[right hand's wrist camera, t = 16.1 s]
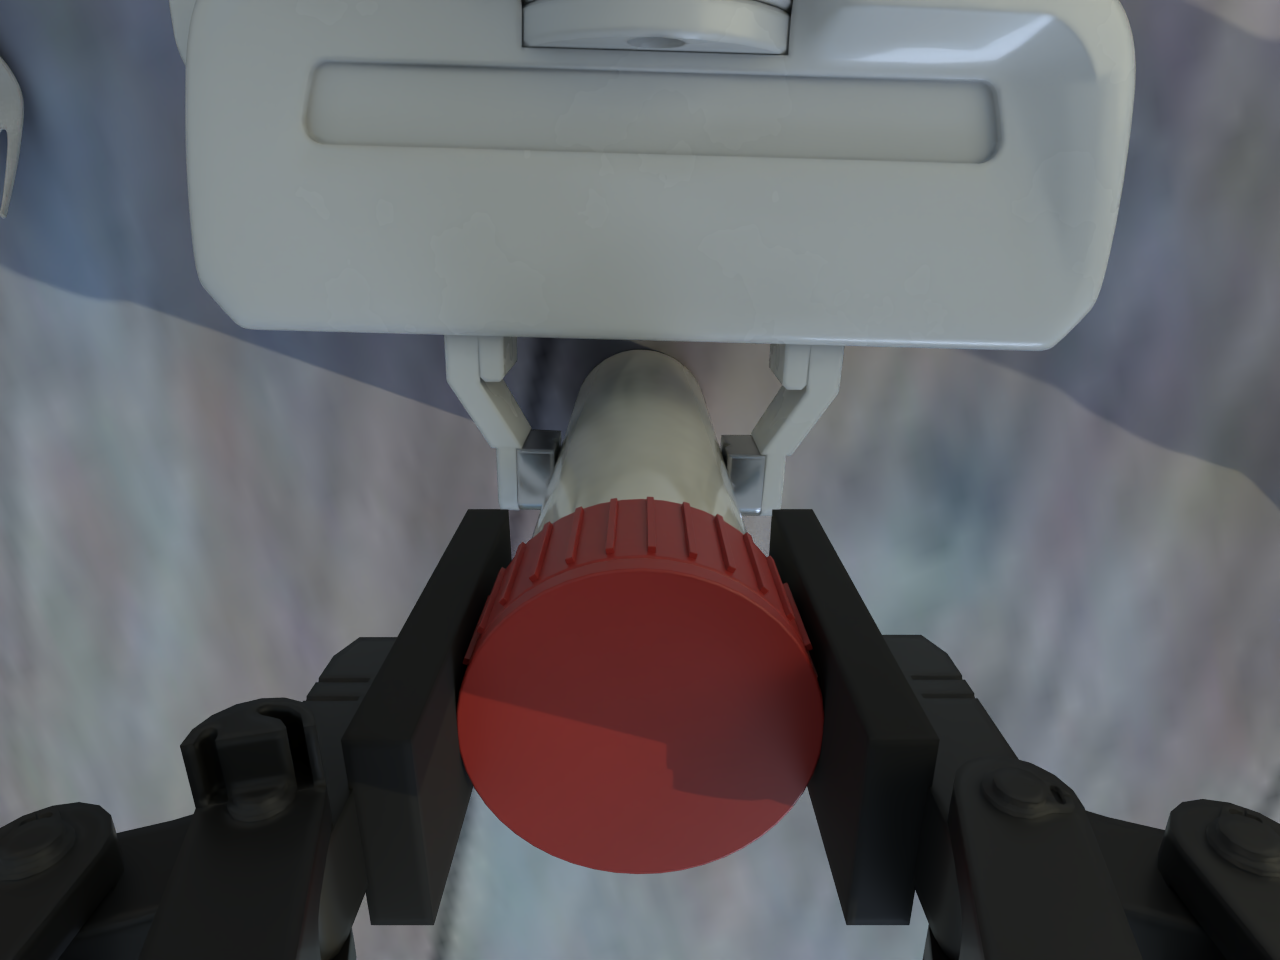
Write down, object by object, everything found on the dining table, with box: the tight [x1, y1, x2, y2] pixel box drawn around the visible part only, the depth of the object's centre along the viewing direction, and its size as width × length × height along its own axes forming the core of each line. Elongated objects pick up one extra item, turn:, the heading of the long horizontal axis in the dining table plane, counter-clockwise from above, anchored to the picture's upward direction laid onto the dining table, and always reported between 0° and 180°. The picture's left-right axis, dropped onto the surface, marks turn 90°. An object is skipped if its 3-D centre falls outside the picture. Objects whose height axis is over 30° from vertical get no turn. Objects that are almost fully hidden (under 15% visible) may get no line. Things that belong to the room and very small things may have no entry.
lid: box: [456, 497, 824, 874], centre depth 11 cm, size 5×5×2 cm
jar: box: [532, 350, 747, 538], centre depth 18 cm, size 4×4×16 cm
